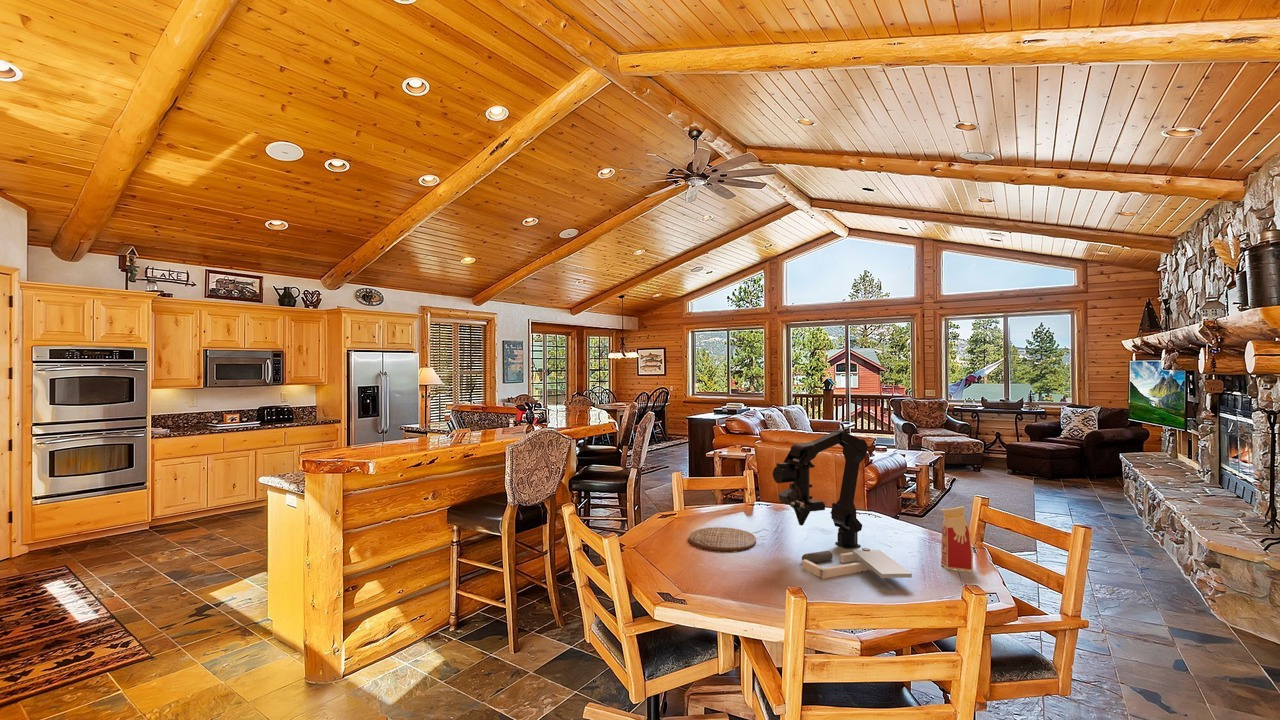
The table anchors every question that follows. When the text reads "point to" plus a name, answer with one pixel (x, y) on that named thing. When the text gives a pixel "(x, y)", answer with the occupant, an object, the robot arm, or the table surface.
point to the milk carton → (956, 541)
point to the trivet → (722, 539)
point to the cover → (881, 564)
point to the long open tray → (837, 567)
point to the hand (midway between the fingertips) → (801, 525)
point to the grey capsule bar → (818, 556)
